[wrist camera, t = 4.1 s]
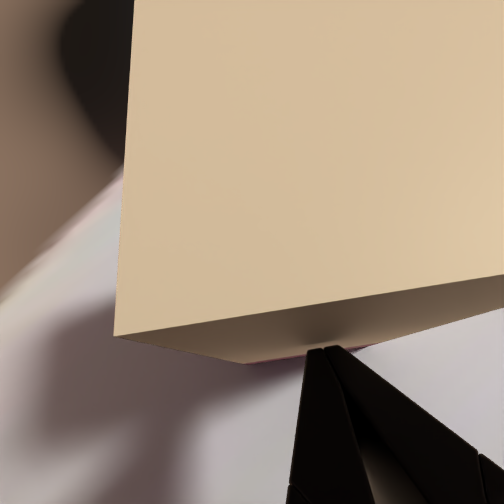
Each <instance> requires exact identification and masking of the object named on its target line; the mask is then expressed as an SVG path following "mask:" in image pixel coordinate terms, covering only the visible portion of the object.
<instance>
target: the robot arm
mask: <svg viewBox="0 0 504 504" xmlns="http://www.w3.org/2000/svg"><path fill="white" fill-rule="evenodd" d="M289 484H290V485H289V486H288V490H287V498H286V504H504V470H503V469H502V468H501V467H499V466H498V465H497V464H495V463H494V462H493V461H491V460H490V459H489V458H487V457H486V456H485V455H483V454H478V451H477V449H475V448H474V447H473V446H471V445H470V444H469V443H467V442H466V441H465V440H463V439H462V438H461V437H460V436H458V435H457V434H456V433H454V432H453V431H452V430H450V429H449V428H448V427H446V426H445V425H444V424H442V423H441V422H440V421H439V420H437V419H436V418H435V417H433V416H432V415H431V414H429V413H428V412H427V411H425V410H424V409H423V408H421V407H420V406H419V405H417V404H416V403H415V402H414V401H412V400H411V399H410V398H408V397H407V396H406V395H404V394H403V393H402V392H400V391H399V390H398V389H396V388H395V387H394V386H393V385H391V384H390V383H389V382H387V381H386V380H385V379H383V378H382V377H381V376H379V375H378V374H377V373H375V372H374V371H373V370H372V369H370V368H369V367H368V366H366V365H365V364H364V363H362V362H361V361H360V360H358V359H357V358H356V357H354V356H353V355H352V354H350V353H349V352H348V351H347V350H345V349H344V348H343V347H341V346H340V345H332V346H326V347H324V348H323V349H322V348H315V349H309V350H307V353H306V361H305V368H304V375H303V383H302V390H301V397H300V405H299V412H298V419H297V427H296V434H295V441H294V449H293V456H292V463H291V471H290V478H289Z"/></svg>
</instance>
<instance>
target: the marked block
mask: <svg viewBox="0 0 504 504" xmlns="http://www.w3.org/2000/svg"><path fill="white" fill-rule="evenodd" d="M500 308H504V0H136V1H135V4H134V19H133V36H132V51H131V68H130V83H129V98H128V114H127V131H126V147H125V161H124V177H123V193H122V209H121V225H120V241H119V256H118V272H117V288H116V304H115V320H114V335H113V337H118V338H123V339H128V340H132V341H137V342H142V343H147V344H151V345H156V346H161V347H165V348H170V349H175V350H180V351H184V352H189V353H194V354H199V355H203V356H208V357H213V358H217V359H222V360H227V361H232V362H236V363H241V364H246V365H250V364H257V363H263V362H269V361H276V360H282V359H289V358H295V357H302V356H306V353H307V350H309V349H315V348H322V349H323V348H324V347H326V346H332V345H340V346H341V347H343V348H344V349H345V350H347V349H353V348H360V347H366V346H371V345H375V344H378V343H382V342H385V341H389V340H392V339H396V338H399V337H403V336H406V335H409V334H413V333H416V332H420V331H423V330H427V329H430V328H434V327H437V326H441V325H444V324H448V323H451V322H455V321H458V320H462V319H465V318H469V317H472V316H476V315H479V314H483V313H486V312H490V311H493V310H497V309H500Z"/></svg>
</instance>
